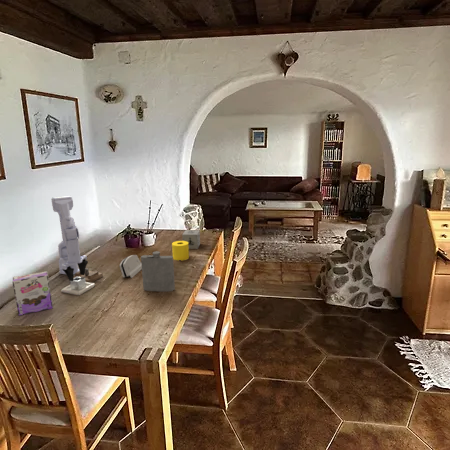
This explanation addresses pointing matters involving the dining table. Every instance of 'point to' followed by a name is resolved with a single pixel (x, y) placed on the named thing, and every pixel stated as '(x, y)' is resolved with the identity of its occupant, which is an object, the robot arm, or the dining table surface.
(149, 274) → the hip flask
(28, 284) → the candy box
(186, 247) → the yellow hollow cylinder
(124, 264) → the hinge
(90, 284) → the dish
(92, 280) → the vise block
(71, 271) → the robot arm
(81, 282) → the sleeve
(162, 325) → the dining table surface
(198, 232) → the icon cube
